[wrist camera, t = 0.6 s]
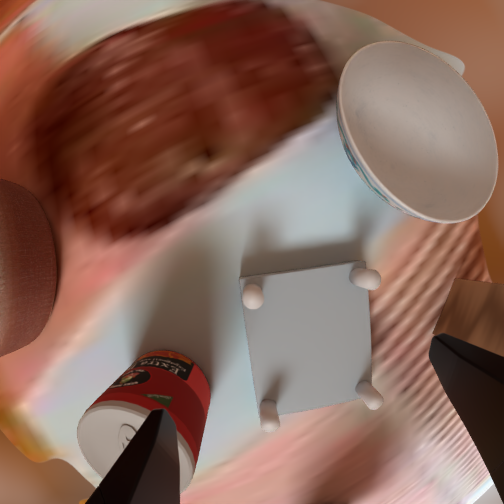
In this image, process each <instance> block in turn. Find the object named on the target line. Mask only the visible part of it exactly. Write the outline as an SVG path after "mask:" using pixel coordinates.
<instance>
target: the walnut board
mask: <svg viewBox="0 0 504 504" xmlns="http://www.w3.org/2000/svg"><path fill="white" fill-rule="evenodd" d="M440 333H446V334H448V335H451V336H453V337H456V338H458V339H461V340H463V341H466V342H468V343H471V344H473V345H476V346H478V347H481V348H483V349H486V350H488V351H491V352H493V353H496V354H498V355H501V356H503V357H504V284H497V283H489V282H481V281H473V280H465V279H457V278H455V279H454V282H453V285H452V287H451V290H450V293H449V295H448V298H447V300H446V303H445V305H444V308H443V310H442V313H441V315H440V317H439V320H438V322H437V324H436V326H435V329H434V331H433V334H435V335H438V334H440Z"/></svg>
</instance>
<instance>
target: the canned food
mask: <svg viewBox="0 0 504 504" xmlns="http://www.w3.org/2000/svg"><path fill="white" fill-rule="evenodd" d="M210 396H211V395H210V388H209V385H208V382H207V380H206V377H205V376H204V374H203V372H202V370H201V369H200V368H199V367H198V366H197V365H196V364H195V363H194V362H193V361H192V360H191V359H189V358H188V357H186V356H184V355H182V354H179V353H177V352H173V351H167V350H165V351H154V352H149V353H147V354H145V355H143V356H141V357H140V358H139V359H137V360H136V361H135V362H134V363H133V364H132V365H131V366H130V367H129V368H128V369H127V370H126V371H125V372H124V373H123V374H122V375H121V376H120V377H119V378H118V379H117V380H116V381H115V382H114V383H113V384H112V385H111V386H110V387H109V388H108V389H107V390H106V391H105V392H104V393H103V394H102V395H101V396H100V397H99V398H98V399H97V400H96V401H95V402H94V403H93V404H92V405H91V406H90V407H89V408H88V409H87V410H86V412H85V413H84V415H83V416H82V418H81V419H80V421H79V424H78V427H77V439H78V443H79V447H80V449H81V452H82V454H83V456H84V457H85V459H86V460H87V462H88V464H89V465H90V466H91V467H92V468H93V470H94V471H95V472H96V473H97V474H98V475H99V476H101V477H102V478H103V479H104V477H105V476H106V474H107V473H108V471H109V470H110V469H111V467H112V466H113V464H114V463H115V462H116V460H117V459H118V457H119V456H120V455H121V453H122V452H123V450H124V449H125V448H126V446H127V445H128V443H129V442H130V440H131V439H132V438H133V436H134V435H135V433H136V432H137V431H138V429H139V428H140V426H141V425H142V423H143V422H144V421H145V419H146V418H147V416H148V415H149V413H150V412H151V411H152V410H153V409H160V408H164V409H166V410H167V412H168V413H169V415H170V416H171V418H172V419H173V420H174V422H175V424H176V430H177V441H178V451H179V461H180V493H182V492H183V491H184V490H186V488H187V487H188V486H189V484H190V482H191V480H192V478H193V475H194V472H195V468H196V464H197V460H198V456H199V451H200V446H201V442H202V437H203V433H204V428H205V423H206V419H207V414H208V410H209V405H210Z"/></svg>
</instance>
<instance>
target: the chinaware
mask: <svg viewBox="0 0 504 504" xmlns="http://www.w3.org/2000/svg"><path fill="white" fill-rule="evenodd" d="M337 122H338V128H339V133H340V137H341V140H342V144H343V146H344V149H345V151H346V154H347V156H348V158H349V160H350V162H351V164H352V166H353V167H354V169H355V170H356V172H357V173H358V175H359V176H360V177H361V179H362V180H363V181H364V182H365V184H366V185H367V186H368V187H369V188H370V189H371V190H372V191H373V192H374V193H375V194H376V195H378V196H379V197H380V198H381V199H382V200H384V201H385V202H387V203H388V204H389V205H391V206H393V207H394V208H396V209H398V210H400V211H402V212H404V213H406V214H408V215H411V216H413V217H416V218H419V219H423V220H427V221H431V222H437V223H458V222H462V221H465V220H468V219H470V218H472V217H473V216H475V215H476V214H478V213H479V212H480V211H481V210H482V209H483V208H484V207H485V205H486V204H487V202H488V201H489V199H490V197H491V195H492V193H493V191H494V187H495V184H496V180H497V174H498V151H497V144H496V139H495V135H494V131H493V128H492V125H491V123H490V120H489V118H488V115H487V113H486V111H485V109H484V107H483V105H482V103H481V102H480V100H479V98H478V97H477V95H476V94H475V92H474V91H473V90H472V88H471V87H470V86H469V84H468V83H467V82H466V81H465V80H464V79H463V78H462V76H461V75H460V74H459V73H458V72H457V71H455V70H454V69H453V68H452V67H451V66H450V65H449V64H447V63H446V62H445V61H443V60H442V59H440V58H439V57H437V56H436V55H434V54H432V53H431V52H429V51H427V50H425V49H423V48H420V47H418V46H415V45H412V44H408V43H404V42H398V41H380V42H375V43H371V44H369V45H366V46H364V47H362V48H361V49H359V50H358V51H357V52H355V53H354V54H353V55H352V56H351V57H350V59H349V60H348V61H347V63H346V65H345V67H344V69H343V71H342V74H341V77H340V81H339V86H338V92H337Z"/></svg>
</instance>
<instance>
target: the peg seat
mask: <svg viewBox="0 0 504 504" xmlns="http://www.w3.org/2000/svg"><path fill="white" fill-rule="evenodd" d="M239 283H240V290H241V298H242V305H243V312H244V319H245V326H246V333H247V340H248V347H249V354H250V361H251V368H252V374H253V381H254V388H255V394H256V401H257V407H258V414H259V418H260V420H261V427H262V429H263V430H264V431H267V432H273V431H276V430H277V429H278V428H279V426H280V421H279V417H278V415H284V414H290V413H296V412H301V411H307V410H312V409H317V408H322V407H327V406H331V405H336V404H340V403H344V402H348V401H352V400H356V399H360V398H361V399H362V400H363V401H364V403H365V404H366V405H367V406H368V408H369V409H371V410H375V409H378V408H379V407H380V406H381V405H382V404H383V401H384V398H383V396H382V395H381V394H380V393H379V392H378V391H377V390H376V389H375V388H374V387H373V386H372V363H371V328H370V310H369V295H368V289H369V290H375V289H377V288H378V287H379V285H380V283H381V276H380V274H379V272H377V271H376V270H370V269H366V263H365V261H351V262H344V263H337V264H331V265H324V266H317V267H310V268H303V269H296V270H289V271H282V272H275V273H267V274H260V275H253V276H245V277H239Z"/></svg>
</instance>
